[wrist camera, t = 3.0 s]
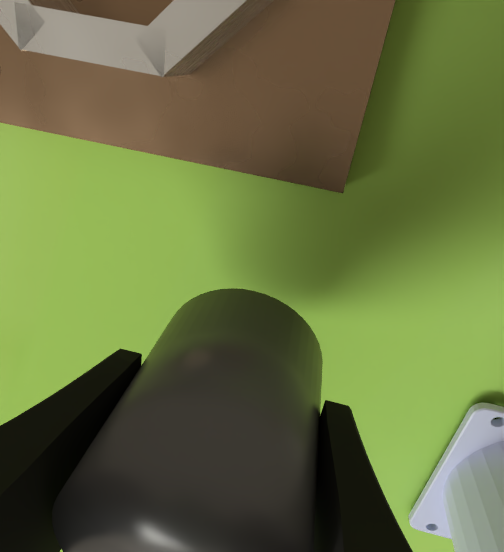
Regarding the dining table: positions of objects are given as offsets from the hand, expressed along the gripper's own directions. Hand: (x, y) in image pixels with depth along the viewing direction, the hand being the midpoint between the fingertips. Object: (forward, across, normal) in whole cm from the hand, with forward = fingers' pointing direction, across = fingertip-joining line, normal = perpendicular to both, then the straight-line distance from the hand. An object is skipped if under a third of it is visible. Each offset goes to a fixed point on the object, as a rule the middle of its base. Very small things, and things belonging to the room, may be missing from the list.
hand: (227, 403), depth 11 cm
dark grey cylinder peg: (+2, 0, 0) cm, 2 cm away
